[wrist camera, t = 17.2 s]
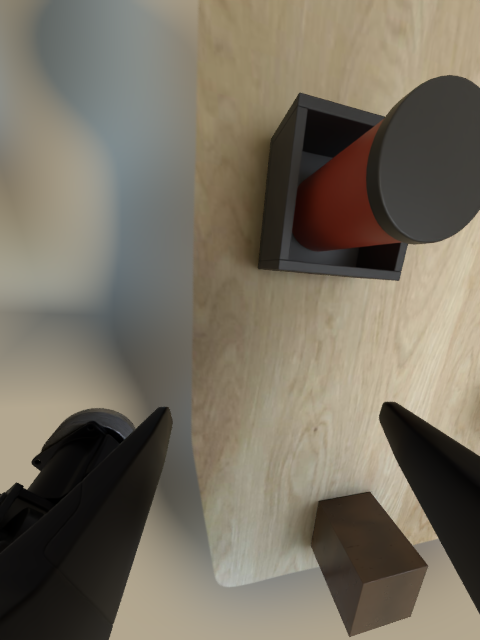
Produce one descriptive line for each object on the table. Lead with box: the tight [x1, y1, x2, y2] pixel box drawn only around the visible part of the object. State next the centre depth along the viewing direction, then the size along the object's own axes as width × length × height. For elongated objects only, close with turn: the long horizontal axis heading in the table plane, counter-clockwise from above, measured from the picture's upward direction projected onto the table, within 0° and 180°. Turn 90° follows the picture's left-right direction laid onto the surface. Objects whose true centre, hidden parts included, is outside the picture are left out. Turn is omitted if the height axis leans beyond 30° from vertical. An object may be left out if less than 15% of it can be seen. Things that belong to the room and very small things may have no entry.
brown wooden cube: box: [311, 492, 428, 637], centre depth 27 cm, size 8×8×8 cm
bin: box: [258, 93, 408, 281], centre depth 18 cm, size 10×10×5 cm
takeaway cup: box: [292, 75, 480, 252], centre depth 15 cm, size 7×7×10 cm
